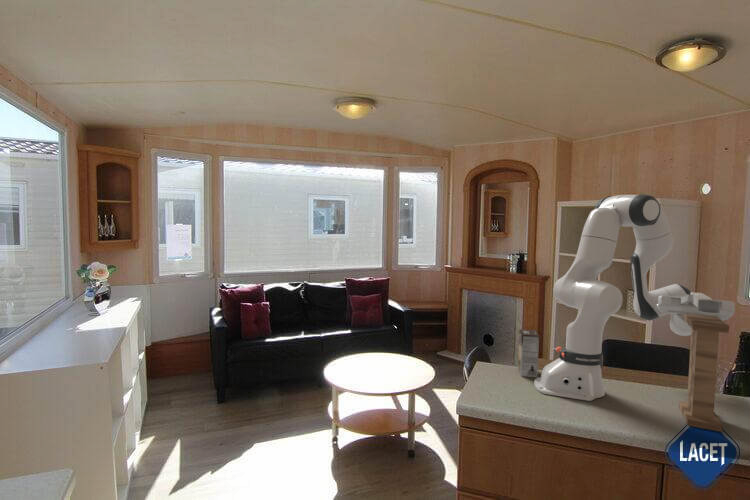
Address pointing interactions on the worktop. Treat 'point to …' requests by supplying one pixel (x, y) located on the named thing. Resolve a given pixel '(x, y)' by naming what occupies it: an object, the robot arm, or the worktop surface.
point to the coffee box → (528, 353)
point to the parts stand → (702, 372)
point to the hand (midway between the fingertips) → (699, 297)
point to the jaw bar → (705, 303)
